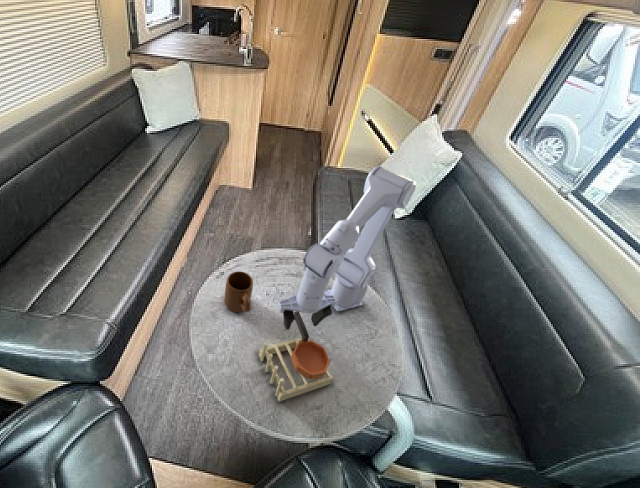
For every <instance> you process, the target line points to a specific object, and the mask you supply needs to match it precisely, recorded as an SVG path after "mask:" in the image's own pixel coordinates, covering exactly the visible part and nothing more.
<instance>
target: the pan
mask: <svg viewBox="0 0 640 488" xmlns="http://www.w3.org/2000/svg"><path fill="white" fill-rule="evenodd" d="M293 312H294V313H293V314H294V316H295V320H294V321H295V324H296V326H297V329H298V331H299V333H300V336H301V337H302V339H301V340H302V342H299V343H298V344H297V345H296V347H295V348H293V350H292V356H290V360H291V362H292V366H293V368H294V371H296V373H298V374H299V375H300V374H301V375H302V376H304V377H305V378H306V380H316V379H317V378H319V379H321V378H324V377H325V376H326V374H325V373H326V371H328V369H329V366H330V363H331V358H330V356H329V354H328V352H327V350H326V348H325V347H324V346H322V345H321V344H319V343H318V342H315V341H314V340H310V339H309V337H310V335H309V332H308V330H307V327H306V325H305V323H304V320H303V318H302V316H301V314H300V313H301V312H297V311H293ZM308 339H309V341H308ZM301 375H300V376H301Z"/></svg>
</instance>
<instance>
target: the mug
mask: <svg viewBox="0 0 640 488" xmlns="http://www.w3.org/2000/svg"><path fill="white" fill-rule="evenodd" d="M253 287H254V279H253V277H252V276H251V275H250V274H249V273H247V272H244V271H232V272H231V273H230V274H228V276H227V278H226V282H225V289H224V297H223V298H224V299H223V300H224V306H225V307H226V308H227V309H228V310H229V311H231V312H233V313H242V312H244V313H249V312H250V311H251V307H252V305H251V299H252V293H253Z"/></svg>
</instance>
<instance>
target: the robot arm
mask: <svg viewBox="0 0 640 488" xmlns="http://www.w3.org/2000/svg"><path fill="white" fill-rule="evenodd" d="M416 189H417V184H416V180H413V179H410V178H407V177H405V176H403V175H401V174H398V173H397V172H394V171H392V170H389V169H387V168H384V167H383V166H381V165H377V166H375V167H374V168H372V169H371V170H370V171H369V173H368V175H367V177H366V179H365V182H364V187H363V194H362V196H361V198H360V199H359V201H358V202H357V203H356V205H355V206H354V208H353V209H352V211H351V212H350V213H349V215H348V216H347V218H346V219H340V220H338V221H337V222H336V223H335V224H334V225H333V227H331V229H330V230H329V231H328V233H326V235H325V236H324V237H323V238H322V240H320V241H319V243H313V244H312V245H311V246H310V247H309V248H308V249H307V251H306V252H305V254H304V257H303V258H302V264H303V267H302V270H303V271H304V273H303V274H302V275H303V276H302V279H301V282H300V286H299V288H298V292H297V293H296V294H294V295H292V296H290V297H288V298H285V299H282V300H278V302H277V306H276V307H277V309H278V312H279V313H280V314H282V315H283V326H284V328H285V330H286V331H289V330H290V329H291V326H292V324H293V322H294V321H295V316H294V312H299V313H304V314H311V317H310V320H311V323H312V325H313V327H317V326H318V325H319V324H320V323H321V322H322V321H323V320H324V319H325V318H326V319H327V318H328V317H329V316H332V314H333V309H332V307H333V308H334V310H335V311H336V312H341V311H345V310H350V309H353V308H357V307H361V306H363V299H364V297H365V295H366V293H367V291H368V288H369V287H368V286H369V285H368V284H369V283H370V282H371V280H372V278H373V276H374V273H375V271H376V267H377V265H376V263H375V262H374V260H373V258H372V256H371V255H372V253H373V251H374V249H375V247H376V246H377V244H378V242H379V240H380V238H381V236H382V235H383V232H384V231H385V229H386V228H387V225H388V223H389V221H390V219H391V217H392V215H393V214H394V212H395V211H396V210H397V209H402V210H404V209H405V208H406V207H407V206H408V204H409V202H410V200H411V199H412V197H413V195H414V193H415V191H416ZM362 227H363V229H362V230H361V232H360V229H361V228H362ZM353 246H354V247H353ZM352 247H353V248H352ZM333 276H335V279H334V282H333V284H332V287H331V289H328V285H329V283H330V280H331V278H332V277H333Z"/></svg>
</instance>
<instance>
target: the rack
mask: <svg viewBox="0 0 640 488" xmlns="http://www.w3.org/2000/svg"><path fill="white" fill-rule="evenodd" d="M301 339H302V336H301V337H297V338H294V339H291V340H290V339H289V340H287V341H283V342H279V343H275V344H272V345H269V346H268V343H267V342H264V344H263V345H262V347H261V348H260V349H259V353H258V356H259V359H260V362H264V359H265V358H266V360H267V361H266V364H265V368H264V372H265V373H268V372H269V370H270V369H271V371H272V374H271V377H270V380H269V384H270V385H274V382H275V380H276V382H277V384H278V385H277V388H276V391H275V394H274V395H275V397H277V402H279V403H281V402H282V401H285V400H288V399H291V398H294V397H297V396H299V395H300V396H301V395H304V394H305V393H308V392H311V391H314V390H317V389H320V388H323V387H326V386H329V385H331V384H332V382H333V380H334V377H333V374H331V375H330V373H329V371H328V370H327V371H326V373H325V376H324V377H322V378H317V379H314V380H313V381H310V382H308V379H307V378H306V377H304V376H302V375H301V374H299V376H300V377H301V379H302V381H303V384H301V385H298V386H297V384H296V383H295V380H294V378H293V376H292V373H291V372H290V369H289V367H288V366H287V364H286V361H285V359H284V357H283V355H282V352H285V351H288V353H289V356H290V357H291V356H292V353H293V350H292V349H295V347H296V345H297V344H298V343H299V342H302V340H301ZM310 339H311V337H310V336H309V339H308V341H309V340H310ZM274 354H277V356H278V358H279V361H280V363H281V365H282V367H283V369H284V371H285V373H286V375H287V377H288V379H289V382H290V383H291V386H292V388H289V389H285V387H284V385H283V384H284V382H285V379H284V378H283V377H281V378H280V376H279V374H278V371H279V366H278V365H275V364H274V363H273V361H272V359H273V355H274Z"/></svg>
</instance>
